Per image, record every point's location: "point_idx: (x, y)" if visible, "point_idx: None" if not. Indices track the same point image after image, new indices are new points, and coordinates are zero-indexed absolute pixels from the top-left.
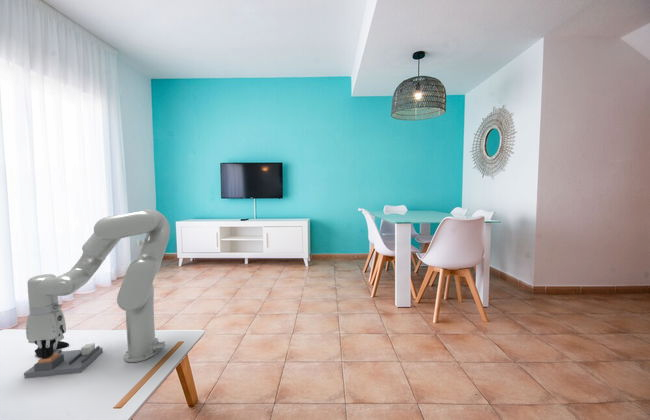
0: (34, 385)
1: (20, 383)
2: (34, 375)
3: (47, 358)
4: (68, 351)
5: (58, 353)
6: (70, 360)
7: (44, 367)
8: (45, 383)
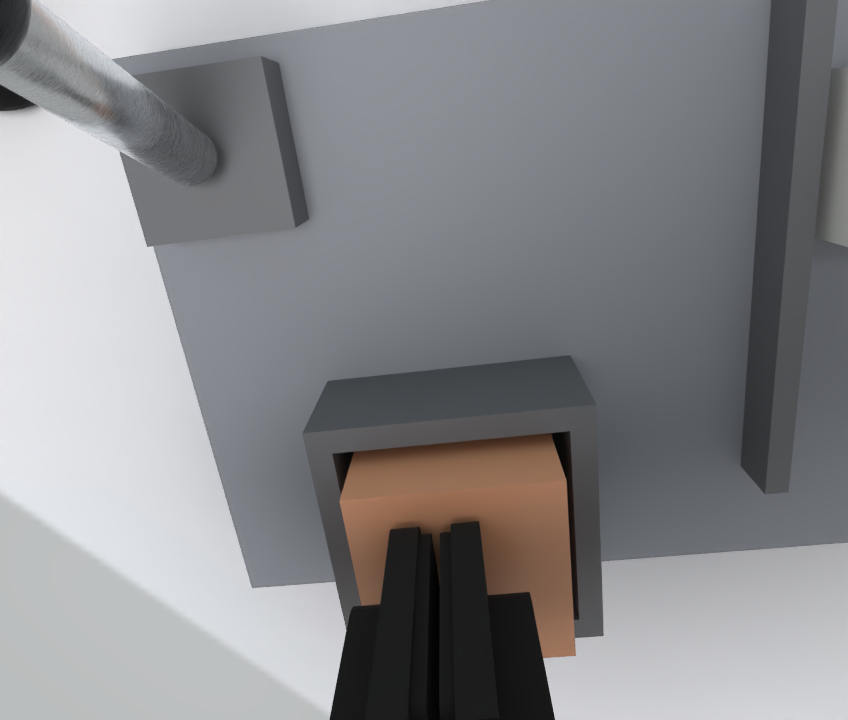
0: None
1: (321, 608)
2: None
3: None
4: (403, 48)
5: (566, 494)
6: (770, 465)
7: None
8: None
